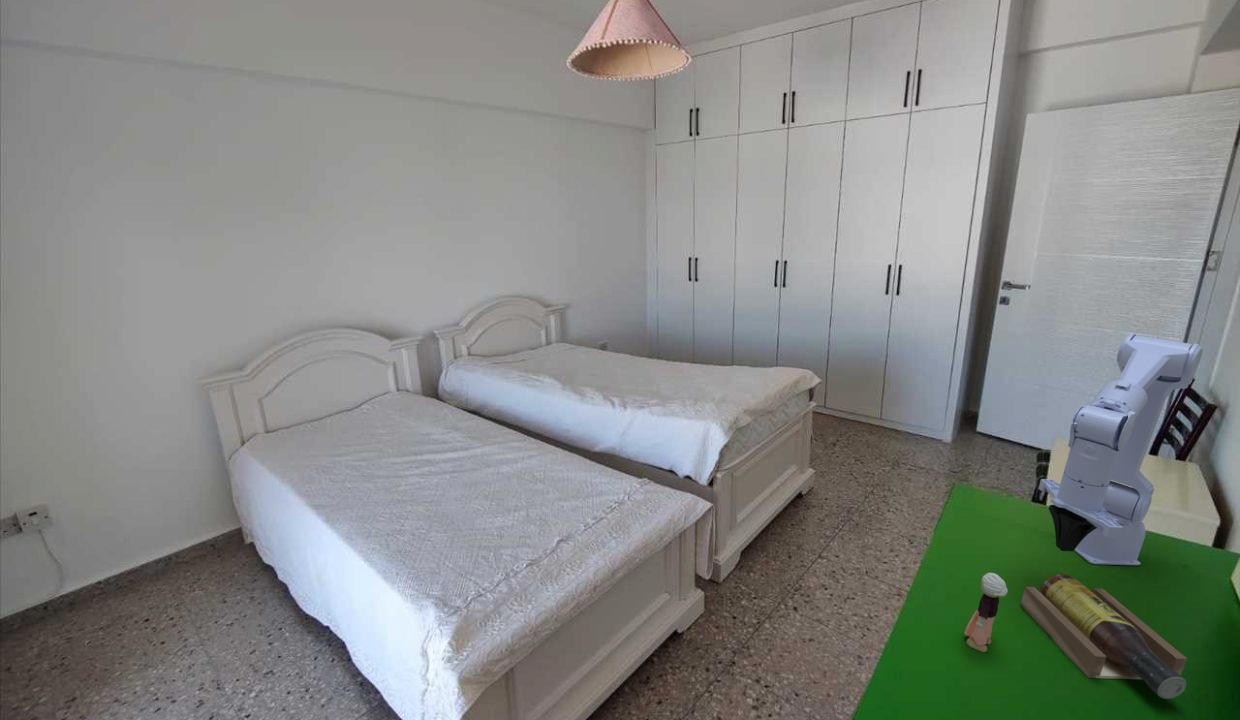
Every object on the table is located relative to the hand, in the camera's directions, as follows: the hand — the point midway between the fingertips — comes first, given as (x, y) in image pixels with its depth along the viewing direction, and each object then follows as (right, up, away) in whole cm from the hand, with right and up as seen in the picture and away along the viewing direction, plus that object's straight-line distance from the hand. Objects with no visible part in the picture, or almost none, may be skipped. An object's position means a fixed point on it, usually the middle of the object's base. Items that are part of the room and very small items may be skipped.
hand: (1064, 548), depth 91 cm
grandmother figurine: (-19, -13, -6) cm, 24 cm away
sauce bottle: (-1, -6, +1) cm, 7 cm away
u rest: (0, -13, -6) cm, 14 cm away
